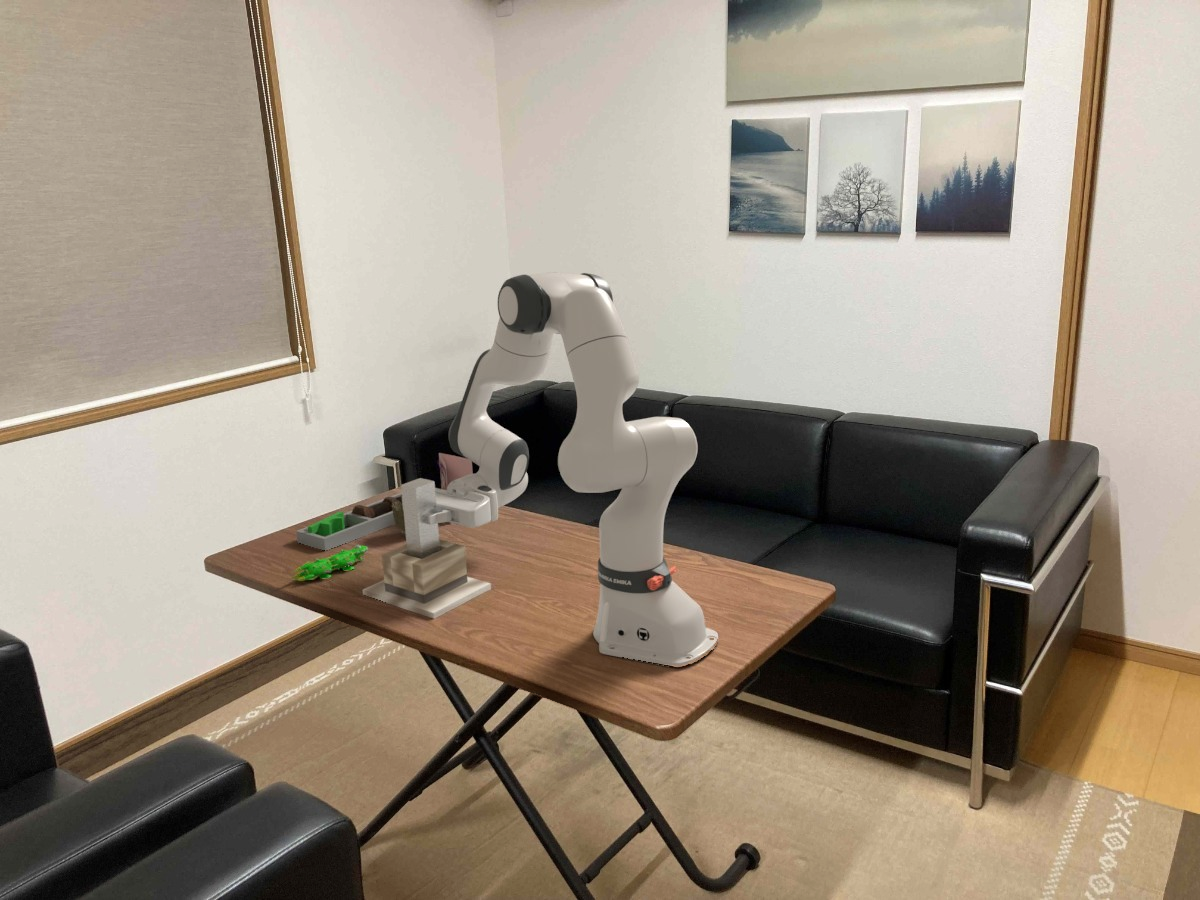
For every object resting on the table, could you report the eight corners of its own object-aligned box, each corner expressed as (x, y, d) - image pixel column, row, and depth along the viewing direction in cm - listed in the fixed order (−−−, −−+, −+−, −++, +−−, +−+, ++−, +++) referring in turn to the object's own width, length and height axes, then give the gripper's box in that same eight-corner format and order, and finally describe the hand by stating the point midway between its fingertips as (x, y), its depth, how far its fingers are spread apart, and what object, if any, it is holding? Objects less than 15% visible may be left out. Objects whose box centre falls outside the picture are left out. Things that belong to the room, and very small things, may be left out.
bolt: (406, 516, 239) (362, 532, 226) (393, 504, 240) (348, 519, 228) (413, 499, 236) (369, 514, 224) (400, 487, 238) (355, 501, 225)
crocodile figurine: (377, 563, 204) (375, 544, 203) (304, 590, 191) (301, 570, 190) (359, 556, 209) (357, 537, 207) (286, 582, 196) (284, 562, 195)
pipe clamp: (322, 547, 215) (320, 528, 213) (309, 545, 216) (307, 526, 215) (354, 530, 224) (351, 512, 223) (341, 528, 226) (339, 510, 225)
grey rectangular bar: (440, 557, 187) (434, 481, 183) (422, 565, 183) (415, 488, 179) (426, 553, 190) (420, 478, 185) (408, 561, 186) (401, 484, 181)
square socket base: (491, 588, 189) (488, 547, 186) (434, 618, 176) (430, 574, 174) (421, 568, 200) (417, 528, 198) (363, 595, 188) (358, 553, 185)
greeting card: (439, 510, 237) (435, 453, 233) (468, 506, 239) (464, 449, 235) (446, 524, 226) (442, 465, 222) (477, 520, 228) (473, 461, 224)
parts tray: (430, 509, 237) (430, 498, 236) (325, 551, 211) (324, 539, 211) (403, 503, 243) (402, 492, 242) (297, 543, 217) (296, 530, 216)
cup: (433, 532, 221) (430, 500, 219) (411, 542, 215) (408, 510, 213) (409, 527, 225) (407, 496, 223) (387, 537, 219) (384, 505, 217)
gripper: (429, 476, 199) (379, 494, 188) (502, 491, 188) (453, 512, 177) (431, 504, 201) (382, 523, 190) (503, 521, 189) (455, 543, 179)
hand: (417, 518), depth 183 cm, fingers closed on grey rectangular bar, 4 cm apart
